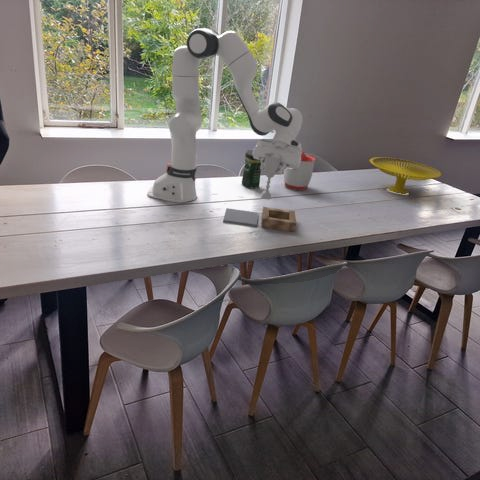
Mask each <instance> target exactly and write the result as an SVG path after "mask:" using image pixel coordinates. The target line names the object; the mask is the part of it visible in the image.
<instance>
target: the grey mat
mask: <svg viewBox="0 0 480 480" xmlns="http://www.w3.org/2000/svg"><path fill="white" fill-rule="evenodd" d="M258 214H259V213H258V211H257V212H256V211H249V210H241V209H234V208H228V207H227V208H226V209H225V213H224V216H223V218H222V219H223V221H222V223H225V224H232V225H233V224H234V225H239V226H241V225H242V226H248V227H256V228H257V226H258V216H259V215H258Z"/></svg>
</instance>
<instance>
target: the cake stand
mask: <svg viewBox="0 0 480 480" xmlns="http://www.w3.org/2000/svg"><path fill="white" fill-rule="evenodd" d="M369 163H370V164H372V166H374V167H375V168H377V169H378V170H379V171H381V172H382V173H384V174H387V175H389V176H391V177H392V176H393V177H395V178H396V180H395V184H394V185H392V186H388V189H389V190H390V191H393V192H396V193H401V194H406V193H409V192H410V191H408V190H407V189H406V188H404V187H405V184H406V182H407V180H410V181H419V182H420V181H427V180H433V179H436V178H437V179H438V178H440V177H442V172H441V171H440V170H438V169H436V168H434V167H432V166H429V165H426V164H422V163H420V162H416V161H411V160H408V159H402V158H396V157H393V158H392V157H387V156H386V157H384V156H383V157H379V156H378V157H372V158H370V159H369Z"/></svg>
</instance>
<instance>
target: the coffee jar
mask: <svg viewBox="0 0 480 480" xmlns="http://www.w3.org/2000/svg"><path fill="white" fill-rule="evenodd" d="M253 150H254V149H251V150H250V149H249V150H248V149H247V150H246V152H245V155H244V168H243V173H242V177H241V184H242V185H243V186H244V187H246V188H248V189H249V188H250V189H257V188H259V187H260V183H261V172H262V170H261V169H260V166H261V160H257V159H254V157H253V155H252V152H253Z"/></svg>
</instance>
